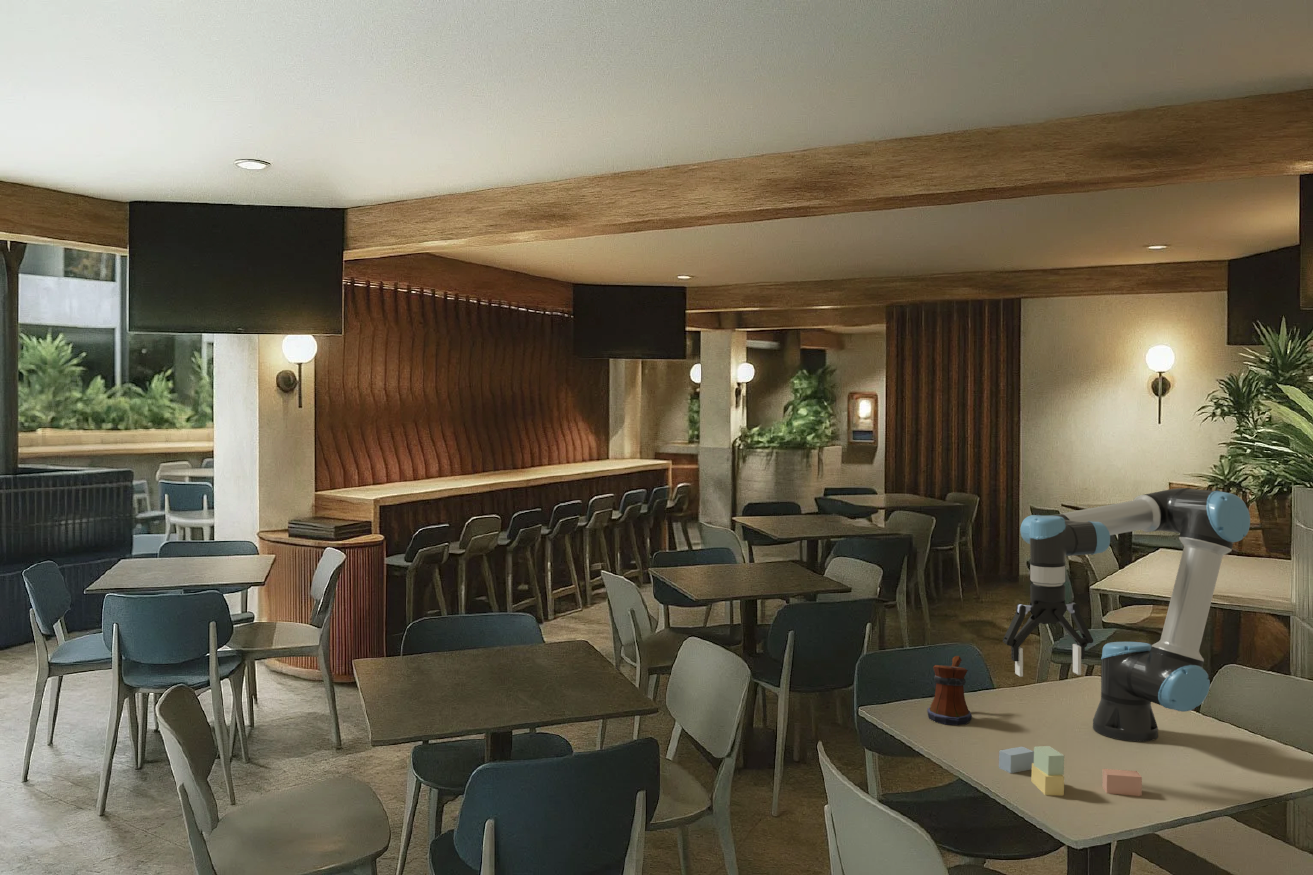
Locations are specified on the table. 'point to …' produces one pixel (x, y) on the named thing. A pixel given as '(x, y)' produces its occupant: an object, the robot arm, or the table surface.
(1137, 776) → the terracotta brick
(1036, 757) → the sage brick
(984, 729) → the table surface
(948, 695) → the mug
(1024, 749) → the slate brick
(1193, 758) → the table surface
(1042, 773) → the ochre brick
